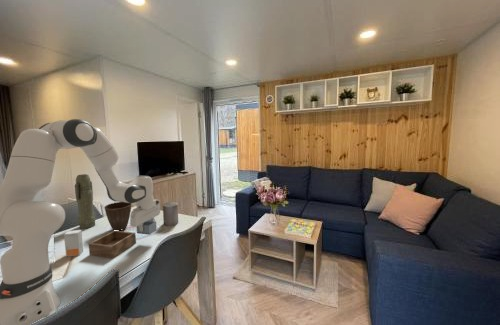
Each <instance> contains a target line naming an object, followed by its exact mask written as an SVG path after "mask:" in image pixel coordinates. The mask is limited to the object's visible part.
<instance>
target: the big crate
mask: <svg viewBox="0 0 500 325" xmlns="http://www.w3.org/2000/svg"><path fill="white" fill-rule="evenodd" d="M136 234H137V233H136V232H131V231H124V230H122V231H113V230H112V231H111V232H109V233H107V234H105V235H103V236H101V237H99V238H97V239H95V240H93V241H91V242H89V243H88V250H89V256H95V257H102V258H108V259H109V258H110V259H114V258H115V257H117V256H119V255H120V254H121V253H123V252H124V251H126V250H128V249H129V248H132V246H134V245H135V244H136V243H137V240H136V238H137V237H136Z"/></svg>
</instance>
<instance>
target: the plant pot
mask: <svg viewBox="0 0 500 325" xmlns="http://www.w3.org/2000/svg"><path fill="white" fill-rule="evenodd" d="M103 208H104V211H105V215H106V218H107V221H108V224H109V225H110V227H111V229H112V231H113V230H121V229H124V228H126V229H127V227H128V224H129V222H130V216H131V212H132V203H126V202H120V201H116V202H112V203H109V204H106V205H105V206H104V207H103ZM124 230H125V229H124Z"/></svg>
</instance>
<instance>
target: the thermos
mask: <svg viewBox="0 0 500 325" xmlns="http://www.w3.org/2000/svg"><path fill="white" fill-rule="evenodd" d="M74 193H75V199H76V204H77V207H78V208H77V209H78V218H77V220H78V221H77V222H78V225H79V230H86V229H91V228H93V227H95V226H96V215H95V213H94V202H93V200H94V190H93V182H92V181H91V178H90V176H89V174H85V173H83V174H78V175H76V177H75V184H74Z"/></svg>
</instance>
